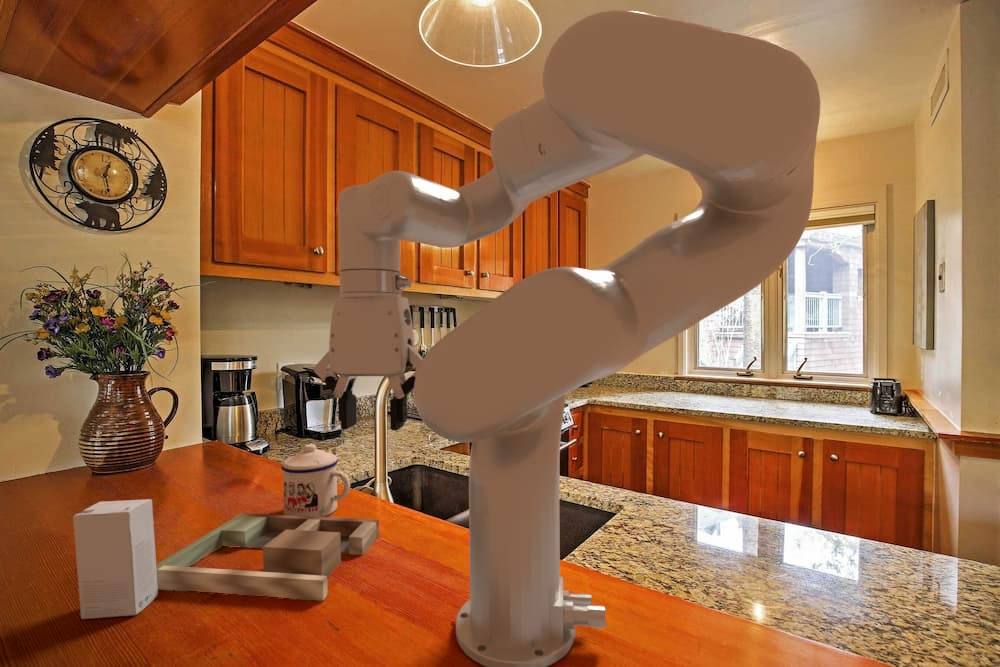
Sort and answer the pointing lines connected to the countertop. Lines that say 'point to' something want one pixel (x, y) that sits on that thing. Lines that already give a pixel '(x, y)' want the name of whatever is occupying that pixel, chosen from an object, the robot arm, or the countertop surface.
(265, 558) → the block
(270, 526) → the tray
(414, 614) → the countertop surface
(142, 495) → the countertop surface
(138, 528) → the skincare box
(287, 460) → the teacup with lid
